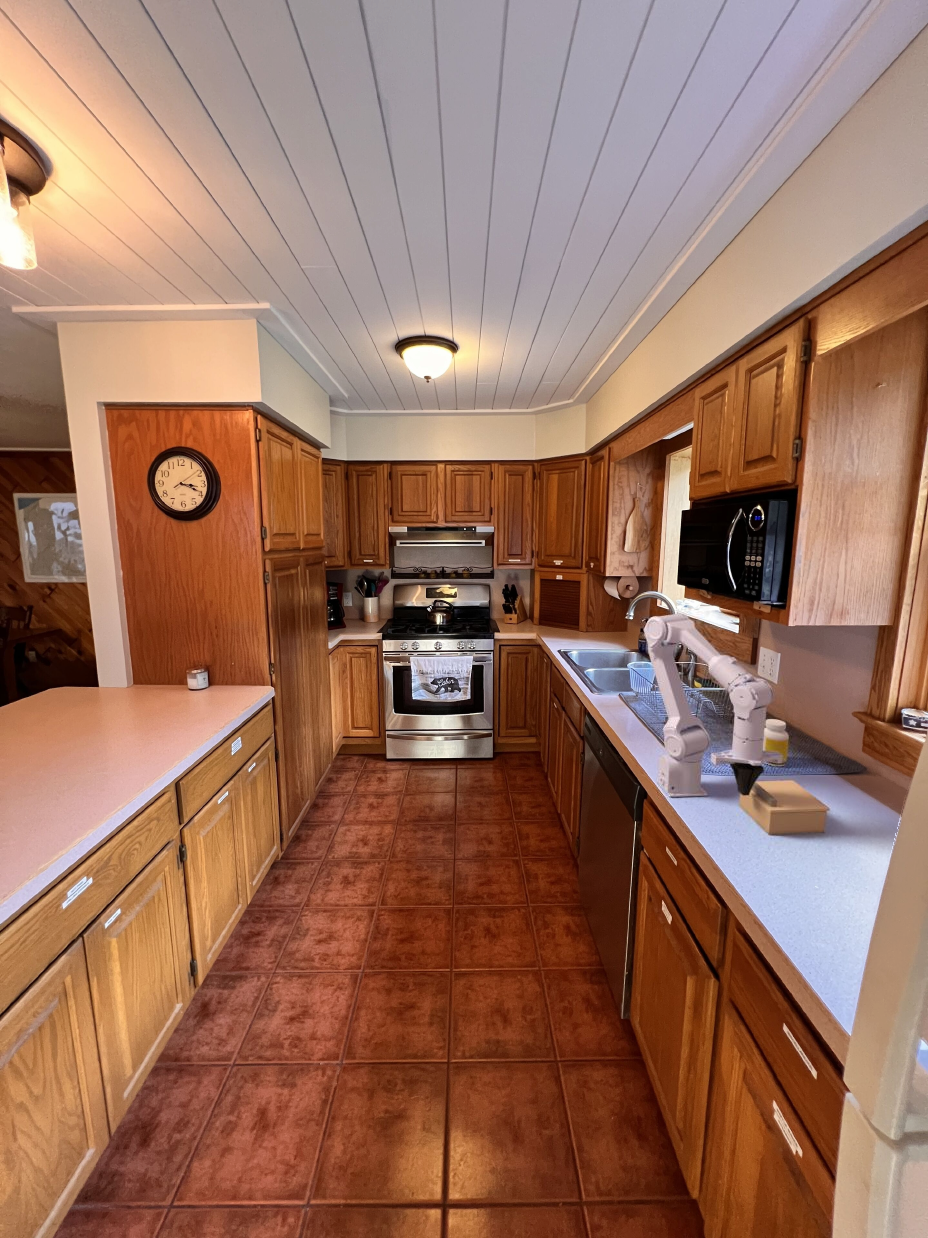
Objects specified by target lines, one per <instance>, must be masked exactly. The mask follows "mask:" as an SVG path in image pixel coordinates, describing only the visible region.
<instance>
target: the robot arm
mask: <svg viewBox="0 0 928 1238" xmlns="http://www.w3.org/2000/svg"><path fill="white" fill-rule="evenodd" d="M643 632H644V635H645V639H646V641H647V652H648V655H649V656H648V657H649V659H650V662H651V664H652V669H653V671H654V675H655V678H656V682H657V685H658V687H659V688H658V689H659V691H660V695H661V697H662V701H663V704H664V707H665V711H666V714H667V718H668V720H667V721H666V723H665V724H664V727H663V728H662V731H663V735H664V736H663V738H664V739H663V743H664V748H665V750H666V752H667V754H662V755H661V756H660V757H659V760H658V774H657V778H656V782H657V784H658V785H659V786H660V787H661V788H662V790H663V791H664V792H665V793H666V795H668V797H671V798H676V797H678V798H681V797H702V796H703V797H705V796H708V792H707V791H706V790H704V788H703V787H702V786H701V785H702V784H701V783H702V768H703V767H702V766H703V757H704V756H705V752H706V751H708V749H709V748H710V746H711V737H710V735H709V733H708V731H707V729H705V728H704V725H703V722H702V720H701V719H699V718H698V717H696V716H695V715H693V714H692V711H691V707H690V705H689V702H688V698H687V695H686V692H685V688H684V687H683V682H682V679H681V677H680V676H681V675H680V673H679V670H678V667H677V664H676V660H675V656H674V651H675V650H676V648H677V647H678V646H679V645H680V644H681V645H682V644H683V645H684V646H685V647H686V648H687V649H689V650H690V651H691V652H692V653H693V654H695V655H696V656H697V657H698V658H699V659H701V660H702V661H703V662H704V663H705V664H707V666H708V673H709V675H710V676H712V677H713V679H715V680H716V681H717V682H718V683H719V684H720V685H721V686H722V687H723V688H724V689H725V690H726V691H727V692H728V693H729V700H730V701H731V704H732V705H733V713H734V718H733V719H734V720H733V733H732V745H731V746H732V747H731V749H728V750H723V751H719V752H712V753H710V762H711V763H712V764H713V765H714V766H716V767H717V766H721V765H724V764H729V766H730V767H731V769H732V772H733V775H734V778H735V781H736V786H737V787H736V788H737V792H739V794H740V793H741V794H742V795H743V796H744V795H749V794H750V791H751V789H752V787H753V785H754V783H755V782H757V781H758V778H759V777H760V776H761V775H762V774H763V773H764V770H765V768H764V766H763V765H762V763H763V762H776V763H782V756H783V755H782V754H780V753H779V752H777V751H764V750H763V740H764V729H765V728H766V726H765V723H766V720H767V719H766V716H767V706H768V705H770V704H772V702H773V701H774V695H775V693H774V690H773V687H772V686H771V685H770V684H769V683H768V681H766V679H763V678H757V677H755V676H754V675H753V674H751V673H749V672H748V671H747V670H746V669H745V668H743V667H742V666H741V665H740V663H738V660H737V659H736V658H735V657H734V656H732V657H731V655H729V654H728V655H725V654H724V655H723V654H722V655H721V654H720V653H719V652H718V650H716V648H715V647H714V646H713V645H712V644H711V643H710V642H709V641H708V640H707V639H706V638H705V637H704V636H703V634H702V633H701V632H700V631H699V630H698V629H697V628H696V624H695V621H693V620H692V619H690V617H689V616H688V615H687V614H685V613H681V612H678V613H674V614H668V615H659V616H657V615H656V616H652V617H650V618H649V619H648V620H647V622H646V623H645V626H644V628H643ZM763 764H764V763H763Z"/></svg>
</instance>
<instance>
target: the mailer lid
mask: <svg viewBox="0 0 928 1238" xmlns="http://www.w3.org/2000/svg"><path fill="white" fill-rule="evenodd" d="M750 795H751V796H752V797H753V798H754V799H755V800H756V801H757V802H759V803H760V804H761V805H762V806H763V807H764V808H765V809H766V810H767V811H769V812H770V813H785V812H812V811H827V812H830V811H831V810H830V809H831V808H830V807H829V806H828V805H826V804H825V803H824V802H822V801H821V800H819V799H818V798H816V796H814V795H813V794H812V793H810V792H809V791H808V790H806V789H805V788H803V786H801V785H800V784H798V783H797V782H796V781H794V780H763V781H755V783H754V785H753V787H752V789H751V791H750Z"/></svg>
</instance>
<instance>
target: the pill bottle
mask: <svg viewBox="0 0 928 1238" xmlns="http://www.w3.org/2000/svg"><path fill="white" fill-rule="evenodd" d="M786 727H787V723H786V722H785V721H783V720H779V719H773V718H769V719H768V718H767V719H765V729H764V740H763V750H764V751H777V752H779V753H780V754H782V755H783V756H782V763H776V762H763V764H765V765H767V764H768V765H767V766H770V765H771V767H777V766H778V768H779V767H783V766H786V765H787V761H788V749H789V740H790V735H789V733H788V732H787V731H786Z"/></svg>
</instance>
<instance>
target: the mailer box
mask: <svg viewBox="0 0 928 1238" xmlns="http://www.w3.org/2000/svg"><path fill="white" fill-rule="evenodd" d="M738 801H739V803H738V807H740V808H741V810H742V811H743V812H745V814H747V815H748V817H750V818H751V819H752V820H753V821H754V822H755V823H756V824H757V825H758V826H759V827H760V828H761V829H762V830H763V832H765V833H766V834H767V835H768V836H771V835H772V836H774V835H799V834H800V835H803V834H822V833H823V834H824V833H825V830H826V823H827V814H828V811H812V812H785V813H770V812H769V811H767V810H766V809H765V808H764V807H763V806H762V805H761V804H760V803H759V802H757V801H756V800H755V799H754V798H753V797H752V796H751V795H750V794H749V795H744V796H743V795H742V794H741V793H740V792H739V800H738Z"/></svg>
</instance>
